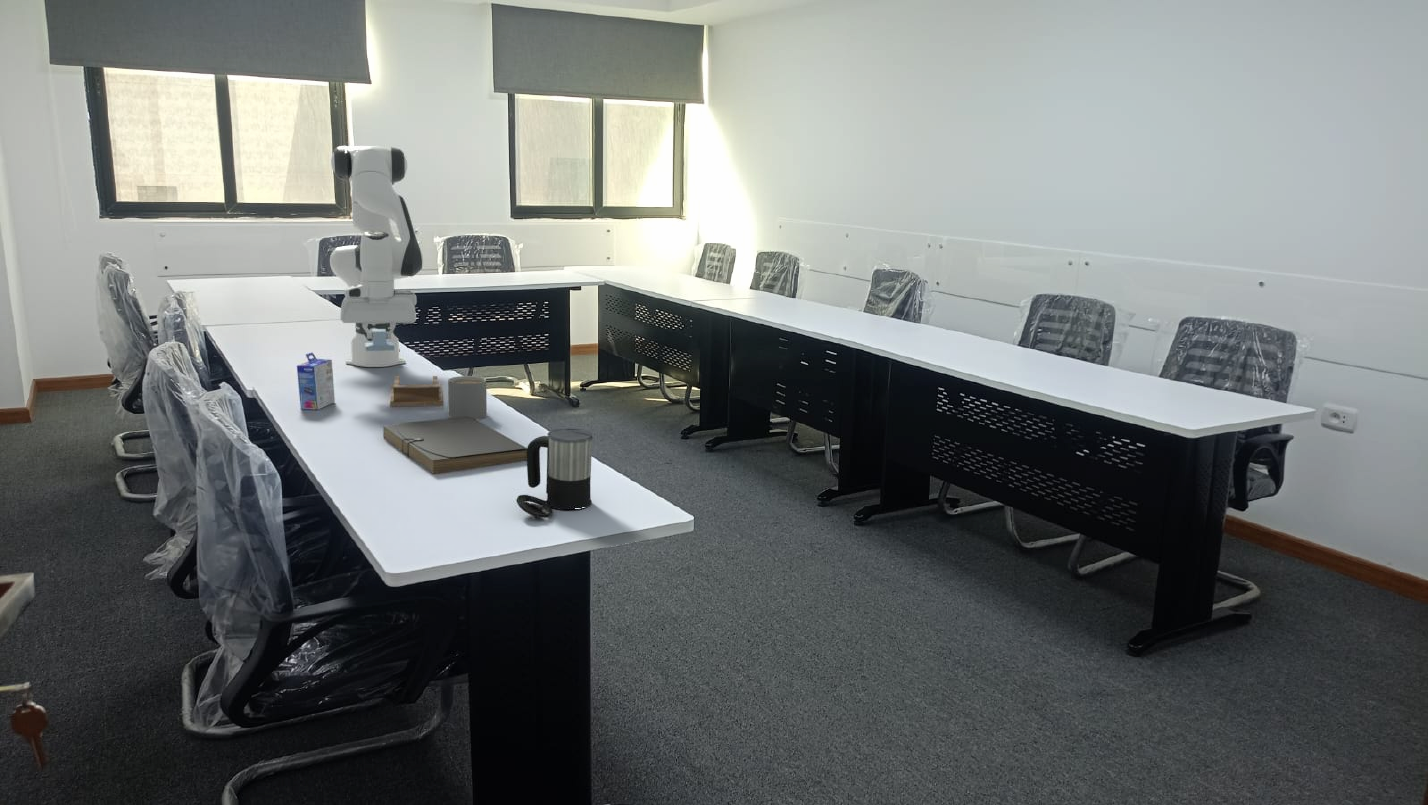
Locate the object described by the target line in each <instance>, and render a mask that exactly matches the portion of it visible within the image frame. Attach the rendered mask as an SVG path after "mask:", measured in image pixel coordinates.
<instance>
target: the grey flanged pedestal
mask: <svg viewBox="0 0 1428 805" xmlns="http://www.w3.org/2000/svg"><path fill="white" fill-rule="evenodd" d="M372 336H373V343H365V348H366V351H387V350H394V344H393V342H386V329H372Z"/></svg>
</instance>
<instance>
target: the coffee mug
mask: <svg viewBox="0 0 1428 805" xmlns="http://www.w3.org/2000/svg"><path fill="white" fill-rule="evenodd" d="M447 386H448V387H447V394H448V396H447V397H448V400H447V401H448V417H449V418H459V417H471V418H473V419H475V420H477V421H479V420H482V418H483V419H485V418H486V417H487V415H488V414H487V403H488V402H487V379H486V378H484V377H481V376H474V375H460V376H454V377H450V378H448V380H447ZM484 417H485V418H484ZM478 419H479V420H478Z"/></svg>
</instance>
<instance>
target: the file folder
mask: <svg viewBox="0 0 1428 805" xmlns="http://www.w3.org/2000/svg"><path fill="white" fill-rule="evenodd" d="M382 427H383V435H382V436H383V439H384V440H386V441H387V442H388V441H389V444H391V445H393V446H394V447H395V448H396V449H397V450H399V449H400V450H399V451H402V453H405V454H406V455H407V458H412V459H413V460H415V461H417V462H419V463H421V465H423V466H424V465H425V466H424V467H426V468H427V469H428V471H430V473H432V474H433V475H437V474H443V473H444V474H445V473H452V472H457V471H465V470H472V469H476V468H483V467H489V466H490V467H491V466H496V465H503V464H511V463H516V462H522V461H527V455H526V451H527V447H525V446H524V445H522V444H520V443H518V442H517V441H515V440H513V439H511V438H509V437H507V436H506V435H504V434H502V433H500V432H498V431H497V430H496V429H493V428H491V427H489V426H488V425H486V424H484V423H482V422H480V421H479V420H475V419H473V418H471V417H459V418H450V417H449V418H443V419H442V418H440V419H438V418H437V419H430V420H421V421H420V420H419V421H407V422H400V423H395V424H386V425H384V424H383V425H382Z"/></svg>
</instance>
